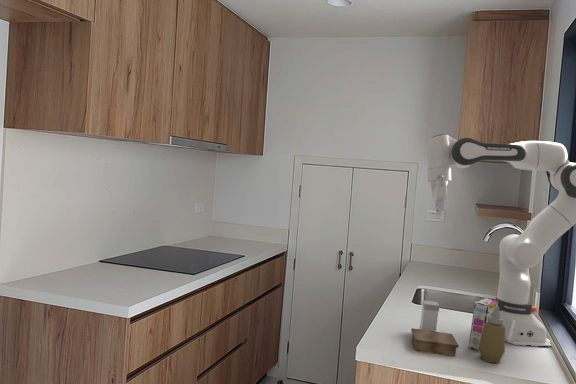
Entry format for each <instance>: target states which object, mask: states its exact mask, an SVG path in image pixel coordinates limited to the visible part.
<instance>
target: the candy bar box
mask: <svg viewBox="0 0 576 384" xmlns="http://www.w3.org/2000/svg"><path fill="white" fill-rule="evenodd" d="M473 306H474V307H473V313H472V318H471V319H472V321H471V327H470V334H469V340H468V348H469V349H472V350H475V351H479V343H480V339H481V335H482V331H483V327H484V323H485V322H488V316H492V314H493V311H494V309H495V306H498V301H495V300H494V299H489V298H483V299H480V300H477V301H475V302H474V305H473ZM479 352H480V351H479Z"/></svg>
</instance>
